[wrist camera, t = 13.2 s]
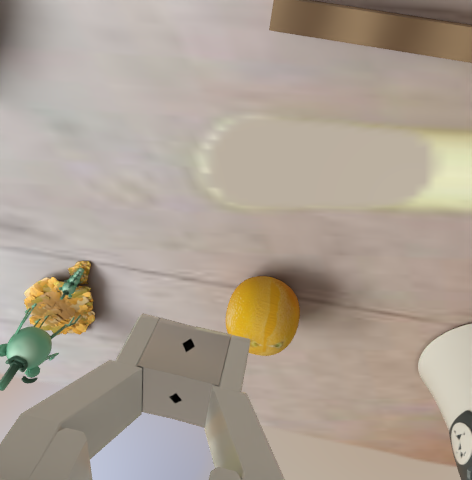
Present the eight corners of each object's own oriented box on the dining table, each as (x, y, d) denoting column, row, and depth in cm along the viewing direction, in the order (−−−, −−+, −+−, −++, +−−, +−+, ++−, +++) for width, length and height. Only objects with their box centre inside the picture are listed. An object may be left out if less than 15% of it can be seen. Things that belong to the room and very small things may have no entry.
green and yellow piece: (134, 296, 50) (70, 400, 39) (68, 334, 60) (2, 427, 49) (75, 246, 47) (-13, 345, 36) (16, 295, 57) (-68, 385, 46)
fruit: (298, 321, 48) (296, 376, 41) (234, 315, 49) (221, 367, 42) (302, 264, 43) (300, 315, 36) (230, 259, 44) (216, 308, 38)
